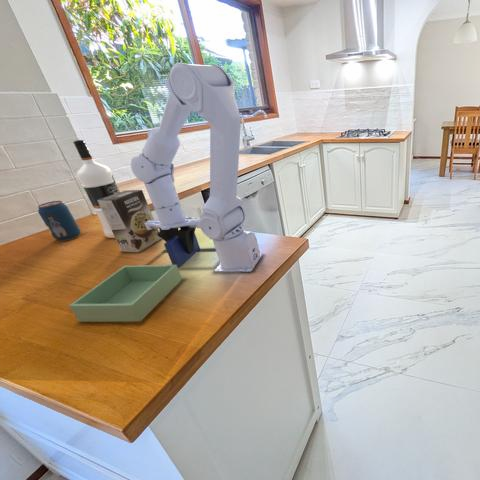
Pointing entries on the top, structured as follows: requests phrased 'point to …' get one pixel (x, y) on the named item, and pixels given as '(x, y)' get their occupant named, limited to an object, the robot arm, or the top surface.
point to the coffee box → (129, 220)
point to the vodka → (96, 183)
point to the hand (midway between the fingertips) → (185, 252)
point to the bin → (127, 294)
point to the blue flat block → (179, 250)
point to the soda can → (59, 220)
